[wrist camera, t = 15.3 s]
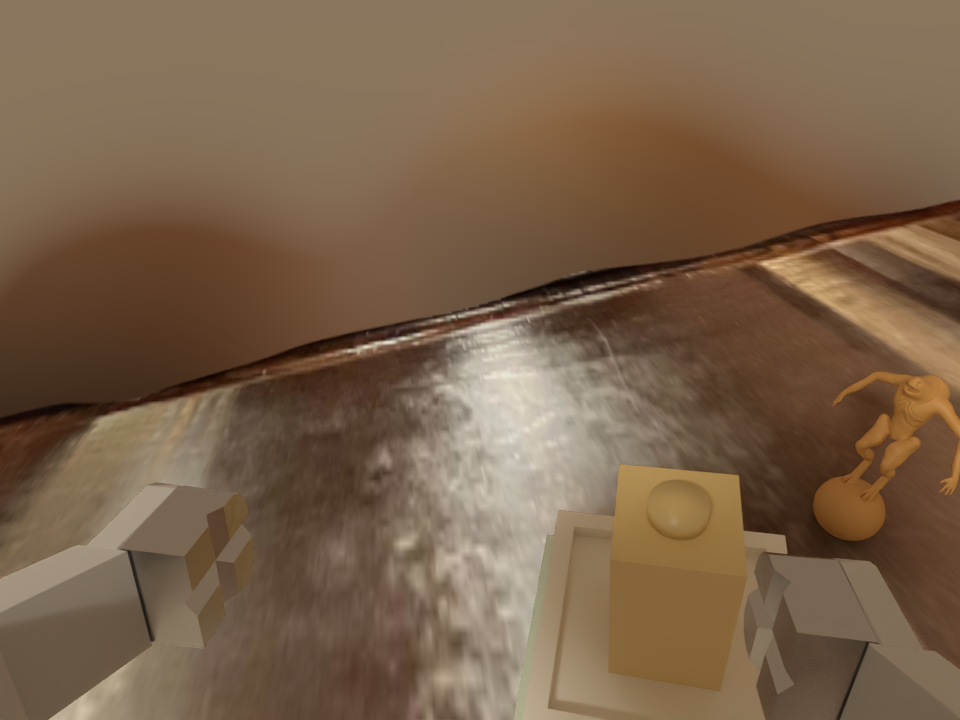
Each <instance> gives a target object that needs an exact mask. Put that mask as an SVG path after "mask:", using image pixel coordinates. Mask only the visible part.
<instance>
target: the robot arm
mask: <svg viewBox="0 0 960 720" xmlns="http://www.w3.org/2000/svg"><path fill="white" fill-rule="evenodd" d="M247 515H248V509H247V504H246V499H245V497H244V496H242V495H241V494H239V493H234V492H227V491H219V490H212V489H204V488H197V487H190V486H179V485H171V484H164V483H153V484H150V485H147V486H146V487H145V488H144V489H143V490H142V491H141V492H140V493H139V494H138V495H137V496H136V497H135V498H134V499H133V500H132V501H131V502H130V503H129V504H128V505H127V506H126V507H125V508H124V509H123V510H122V511H121V512H120V513H119V514H118V515H116V516H115V517H114V518H113V519H112V520H111V521H110V522H109V523H108V524H107V525H106V526H105V527H104V528H103V529H102V530H101V531H100V532H99V533H98V534H97V535H96V536H95V537H94V538H93V539H92V540H91V541H90V542H89V543H88V544H87V545H86V546H84V545H75V546H73V547H71V548H68V549H66V550H64V551H62V552H59V553H57V554H55V555H52V556H50V557H48V558H46V559H43V560H41V561H39V562H36V563H34V564H32V565H29V566H27V567H25V568H23V569H20V570H18V571H16V572H13V573H11V574H9V575H7V576H4V577H2V578H0V720H48V719H50V718H51V717H52V716H54V715H55V714H57V713H58V712H59V711H61V710H62V709H64V708H65V707H66V706H68V705H69V704H71V703H72V702H73V701H75V700H76V699H78V698H79V697H81V696H82V695H83V694H85V693H86V692H88V691H89V690H90V689H92V688H93V687H95V686H96V685H97V684H99V683H100V682H102V681H103V680H104V679H106V678H107V677H109V676H110V675H111V674H113V673H114V672H116V671H117V670H118V669H120V668H121V667H123V666H124V665H125V664H127V663H128V662H130V661H131V660H132V659H134V658H135V657H137V656H138V655H139V654H141V653H142V652H144V651H145V650H146V649H148V648H149V647H151V646H152V643H160V644H169V645H178V646H187V647H196V648H205V647H206V645H207V643H208V642H209V640H210V639H211V637H212V636H213V634H214V632H215V631H216V629H217V628H218V626H219V625H220V623H221V621H222V620H223V618H224V617H225V615H226V614H225V609H224V602H226V601H227V600H229V599H231V598H232V597H234V596H236V595H237V594H239V593H240V591H241V589H242V588H243V586H244V584H245V583H246V581H247V579H248V576H249V573H250V569H251V566H252V563H253V550H254V547H253V540H252V535H251V534H250V533H249V532H248V531H247V530H246V529H245V527H244V526H243V525H242V523H243V521H244V520H245V518H246V517H247ZM754 573H755V577H756V580H757V583H758V586H759V587H758V588H756V589H755V590H754V591H752V592H751V593H750V594H748V598H747V602H746V607H745V611H744V637H745V645H746V649H747V653H748V657H749V660H750V661H751V662H752V663H753V664H754V665H755V666H756V667H757V668H758V669H759V670H760V674H759V677H758V681H757V684H756V688H757V691H758V695H759V698H760V702H761V706H762V709H763V713H764V717H765V720H960V669H958V668H957V667H956V666H954V665H953V664H952V663H950V662H949V661H948V660H946V659H945V658H944V657H942V656H941V655H939V654H938V653H937V652H935V651H929V650H924V649H923V648H922V646H921V644H920V642H919V641H918V639H917V637H916V635H915V634H914V632H913V630H912V628H911V627H910V625H909V623H908V621H907V620H906V618H905V616H904V614H903V612H902V611H901V609H900V607H899V605H898V604H897V602H896V600H895V598H894V597H893V595H892V593H891V591H890V590H889V588H888V586H887V584H886V583H885V581H884V579H883V577H882V576H881V574H880V572H879V570H878V569H877V567H876V566H875V565H874V564H873V563H871V562H870V561H861V560H850V559H839V558H833V559H829V558H820V557H810V556H801V555H791V554H782V553H772V552H763V551H762V553H761V554H760V556H759V558H758V560H757V563H756V567H755V570H754Z"/></svg>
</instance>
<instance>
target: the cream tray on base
mask: <svg viewBox="0 0 960 720" xmlns="http://www.w3.org/2000/svg"><path fill="white" fill-rule="evenodd" d="M613 526H614V516H607V515H598V514H589V513H580V512H571V511H562V510H559V512H558V518H557V523H556V529H555V535H547V539H546V544H545V550H544V555H543V561H542V566H541V572H540V577H539V583H538V588H537V594H536V599H535V605H534V610H533V616H532V621H531V627H530V632H529V638H528V643H527V649H526V654H525V660H524V665H523V671H522V676H521V682H520V687H519V693H518V698H517V703H516V709H515V714H514V720H765V717H764V713H763V709H762V706H761V702H760V698H759V695H758V691H757V688H756V684H757V681H758V677H759V674H760V670H759V669H758V668H757V667H756V666H755V665H754V664H753V663H752V662H751V661H750V660H749V657H748V653H747V649H746V645H745V637H744V611H745V607H746V602H747V598H748V594H750V593H751V592H752V591H754V590H755V589H756V588H758V587H759V586H758V583H757V580H756V577H755V573H754V570H755V567H756V563H757V560H758V558H759V556H760V554H761V553H762V551H763V552H772V553H782V554H788V553H787V546H786V539H785V535H777V534H768V533H759V532H750V531H744V543H745V555H746V567H747V581H746V585H745V589H744V594H743V598H742V602H741V606H740V610H739V615H738V619H737V623H736V627H735V631H734V636H733V640H732V644H731V648H730V652H729V657H728V661H727V665H726V669H725V673H724V678H723V682H722V686H721V690H720V691H715V690H709V689H703V688H697V687H691V686H685V685H679V684H673V683H667V682H661V681H655V680H650V679H644V678H638V677H632V676H626V675H620V674H614V673H608V667H609V608H610V558H611V547H612V536H613Z"/></svg>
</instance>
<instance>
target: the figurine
mask: <svg viewBox="0 0 960 720" xmlns="http://www.w3.org/2000/svg"><path fill="white" fill-rule="evenodd" d="M875 380H879V381H882V382H885V383H888V384H892V385H895V386H898V389H897V391H896V394H895V396H894V401H893V404H894V410H893V413H894V415H893V418H892V420H891V418H890V417H889V416H888V415H887V414H881V415H880V416H879V417H878V419H877V421H876V422H875V425H874V426H873V427H872V428H871V429H870V430H869V431H868V432H866V433H865V434H864V435H863V437H862V438H861V439H860V440H858V441H857V442H856V444H855V448H856V452H857V453H858V454H860V456H861V457H862V458H863V459H864V460H863V461H862V462H861V463H860V464H859V466H858V467H857V468H856V469H855V470H854V471H853V472H852V473H850V474H848V475H845V476H840V477H835V478H832V479H830V480H828V481H826V482H825V483H823V484H822V485H821V486H820V487H819V489H818V490H817V492H816V494H815V496H814V500H813V510H814V514H815V517H816V519H817V521H818V523H819V524H820V525H821V527H822V528H823V529H824V530H825V531H826V532H828V533H829V534H831V535H832V536H834V537H836V538H839V539H842V540H846V541H860V540H864V539H867V538H869V537H871V536H873V535H874V534H875V533H877V532H878V531H879V529H880V528H881V527H882V525H883V523H884V520H885V515H886V509H885V504H884V501H883V499H882V497H881V495H880V493H879V491H880V490H881V489H882V488H883V487H884V486H885V485H886V484H887V482H888V481H889V480H890V479H891V478H892V477H894V476H895V474H896V470H895V468H896V467H898V466H900V465H901V464H902V463H903V462H904V461H905V460H906V459H907V458H908V457H909V455H910V454H912V453H913V452H915V451H916V450H917V449H918V448H919V447H920V445H921V441H920V439H919V438H917V437H915V436H913V433H914V432H915V431H916V430H917V429H918V428H919V427H920V426H922V425H923V424H925V423H926V422H927V421H928V420H929V419H931V418H932V417H933V416H934V415H939V416H940V417H941V418H942V419H943V420H944V421H945V423H946V424H947V425H948V427H949V428H950V429H951V430H952V432H953V433H954V434H955V435H956V436H957V437H958V439H959V440H958V444H957V447H956V453H955V456H954V458H953V462H952V470H951V477H950V478H946V479H944V480H942V481H941V482H940V483H943V482H946V484H945V485H944V487H943V488H942V489H941V490H940V491H939V492H942V491H943V490H944V489H946V488H948V489H947V491H946V492H945V493H944V495H946V494H947V493H948V492H949V491H950V490H951V492H950V493H949V495H950V494H951V493H952V492H953V491H954V490H955V488H956V486H957V483H958V480H959V475H960V419H959V418H958V417H957V415H956V413H955V411H954V408H953V406H952V404H951V403H950V402H949V397H950V389H949V386H948V384H947V383H946V382H945V381H944V380H943V379H941V378H939V377H937V376H934V375H925V376H921V377H918V376H914V377H913V376H910V375H905V374H901V375H897V374H893V373H888V372H874V373H872V374H870V375H869V376H868V377H866V378H865V379H863V380H861V381H859V382H857V383H855V384H853V385H851V386H849V387H848V388H847V389H845V390H843V391H842V392H841V393H840V394H839V395H838V396H837V398H836V399H835V400H834V402H833V406H834V405H835V404H836V403H837V402H840V401H841V400H842V398H843V397H844V396H845V395H846V394H849V393H853V392H856V391H858V390H860V389H862V388H864V387H865V386H867V385H869V384H871V383H873V382H874V381H875ZM888 435H890V438H891V439H893V440H897V441H895V442H893V443H891V444H890V445H888V446H887V448H886V449H885V452H884V457H883V459H882V461H881V463H880V472H881V473H882V476H881V477H880V478H879V479H878V480H877V481H876V482H875V483H874V484H873V485H871V484H869V483H868V482H866V481H864V480H862V479H860V477H861V476H862V475H863V473H864V472H865V471H866V470H867V468H868V467H869V466H870V464H871V463H872V460H873V458H874V452H873V451H872V450H871V449H870V447H875V446H880V445H881V444H883V443H884V441H885V440H886V438H887V437H888Z"/></svg>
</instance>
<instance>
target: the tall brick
mask: <svg viewBox="0 0 960 720" xmlns="http://www.w3.org/2000/svg"><path fill="white" fill-rule="evenodd" d="M746 581H747V567H746V555H745V543H744V531H743V519H742V507H741V495H740V483H739V475H731V474H720V473H709V472H699V471H688V470H677V469H666V468H656V467H645V466H634V465H624V464H619V473H618V483H617V494H616V505H615V515H614V526H613V536H612V547H611V558H610V608H609V667H608V673H614V674H620V675H626V676H632V677H638V678H644V679H650V680H655V681H661V682H667V683H673V684H679V685H685V686H691V687H697V688H703V689H709V690H715V691H720V690H721V686H722V682H723V678H724V673H725V669H726V665H727V661H728V657H729V652H730V648H731V644H732V640H733V636H734V631H735V627H736V623H737V619H738V615H739V610H740V606H741V602H742V598H743V594H744V589H745V585H746Z"/></svg>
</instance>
